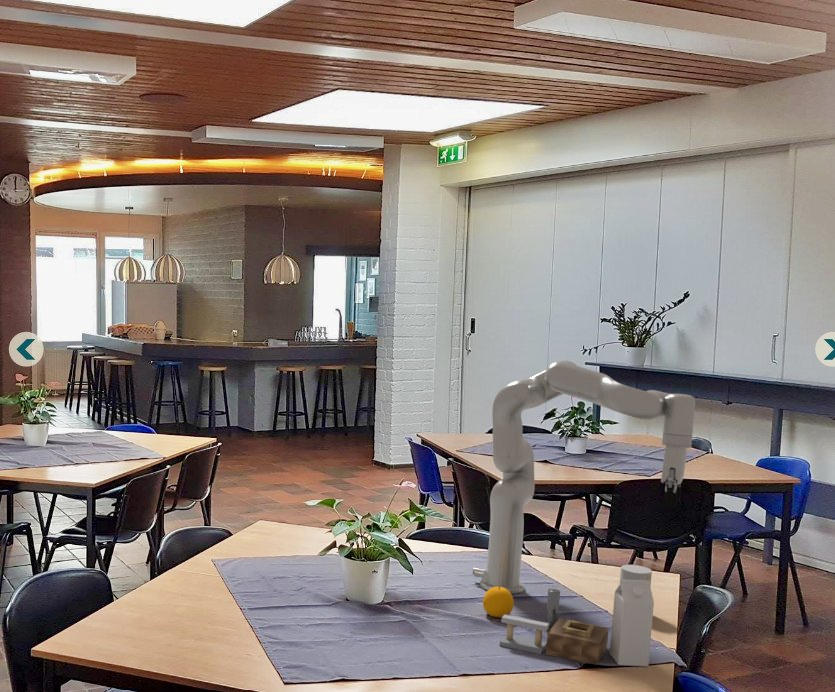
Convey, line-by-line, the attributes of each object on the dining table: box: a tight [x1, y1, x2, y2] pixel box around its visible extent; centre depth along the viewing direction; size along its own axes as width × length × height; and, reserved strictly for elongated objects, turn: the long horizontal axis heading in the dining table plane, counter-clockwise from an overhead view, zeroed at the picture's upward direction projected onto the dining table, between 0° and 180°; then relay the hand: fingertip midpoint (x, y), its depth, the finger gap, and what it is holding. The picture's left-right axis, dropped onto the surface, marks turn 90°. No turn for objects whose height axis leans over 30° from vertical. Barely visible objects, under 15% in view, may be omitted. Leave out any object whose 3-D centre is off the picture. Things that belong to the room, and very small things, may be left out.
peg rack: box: [498, 614, 549, 655], centre depth 224 cm, size 11×6×6 cm, turn 68°
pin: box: [545, 588, 561, 633], centre depth 237 cm, size 3×3×10 cm
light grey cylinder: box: [619, 564, 653, 587], centre depth 256 cm, size 8×8×12 cm
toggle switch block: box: [545, 618, 610, 666], centre depth 223 cm, size 12×12×6 cm
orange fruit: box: [482, 587, 515, 618], centre depth 245 cm, size 8×8×8 cm
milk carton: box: [609, 579, 655, 667], centre depth 220 cm, size 7×7×19 cm
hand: (671, 504), depth 252 cm, fingers open, 9 cm apart
